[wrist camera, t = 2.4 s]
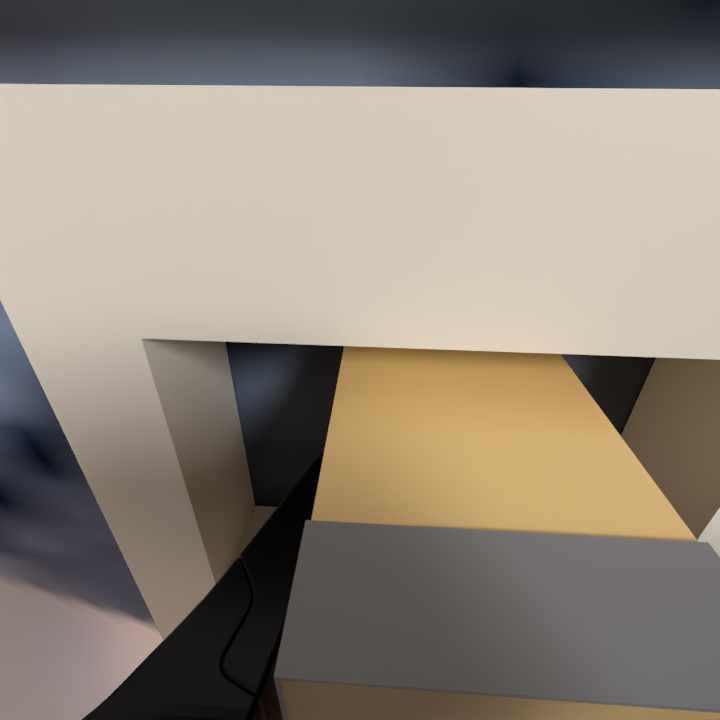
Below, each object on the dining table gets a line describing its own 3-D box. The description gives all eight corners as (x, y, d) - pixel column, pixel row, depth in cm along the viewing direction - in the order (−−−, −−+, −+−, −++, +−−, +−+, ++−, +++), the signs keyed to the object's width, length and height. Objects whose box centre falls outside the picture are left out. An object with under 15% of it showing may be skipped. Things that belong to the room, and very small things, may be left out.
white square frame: (898, 103, 7) (1221, 94, 4) (613, 588, 14) (665, 696, 11) (71, 95, 7) (-104, 82, 5) (211, 563, 14) (173, 660, 12)
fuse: (534, 313, 9) (840, 718, 3) (487, 501, 12) (587, 883, 6) (348, 307, 9) (273, 676, 3) (350, 494, 12) (313, 858, 6)
